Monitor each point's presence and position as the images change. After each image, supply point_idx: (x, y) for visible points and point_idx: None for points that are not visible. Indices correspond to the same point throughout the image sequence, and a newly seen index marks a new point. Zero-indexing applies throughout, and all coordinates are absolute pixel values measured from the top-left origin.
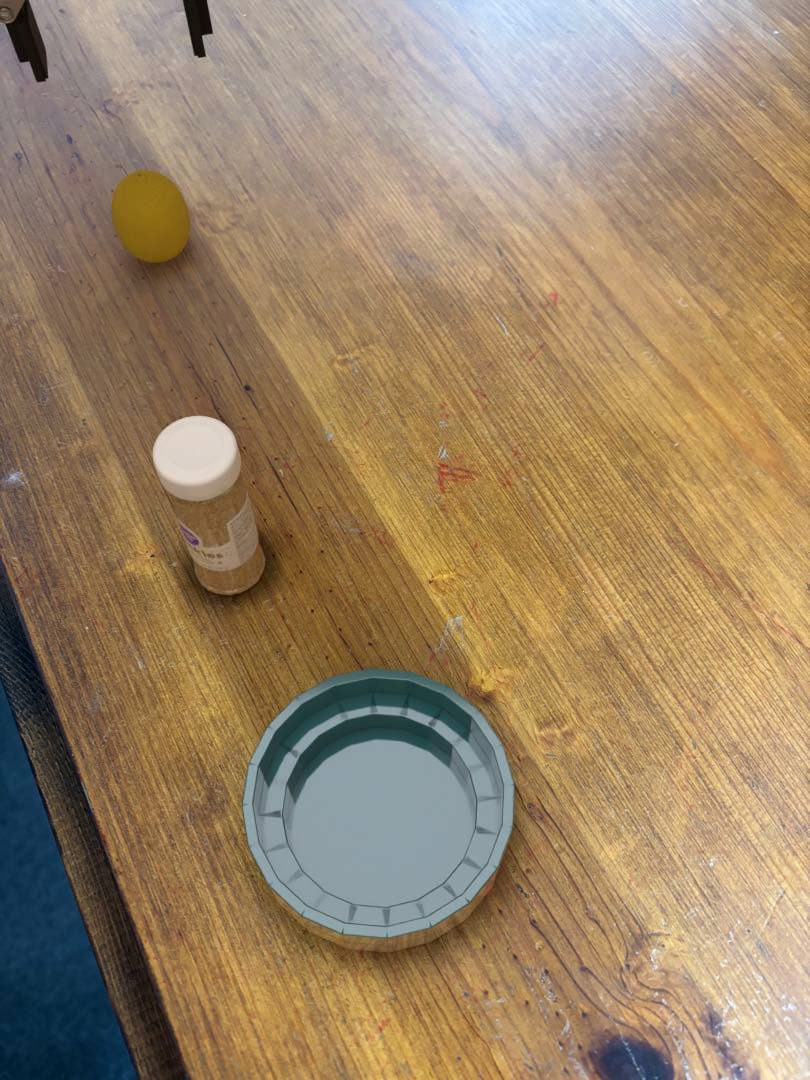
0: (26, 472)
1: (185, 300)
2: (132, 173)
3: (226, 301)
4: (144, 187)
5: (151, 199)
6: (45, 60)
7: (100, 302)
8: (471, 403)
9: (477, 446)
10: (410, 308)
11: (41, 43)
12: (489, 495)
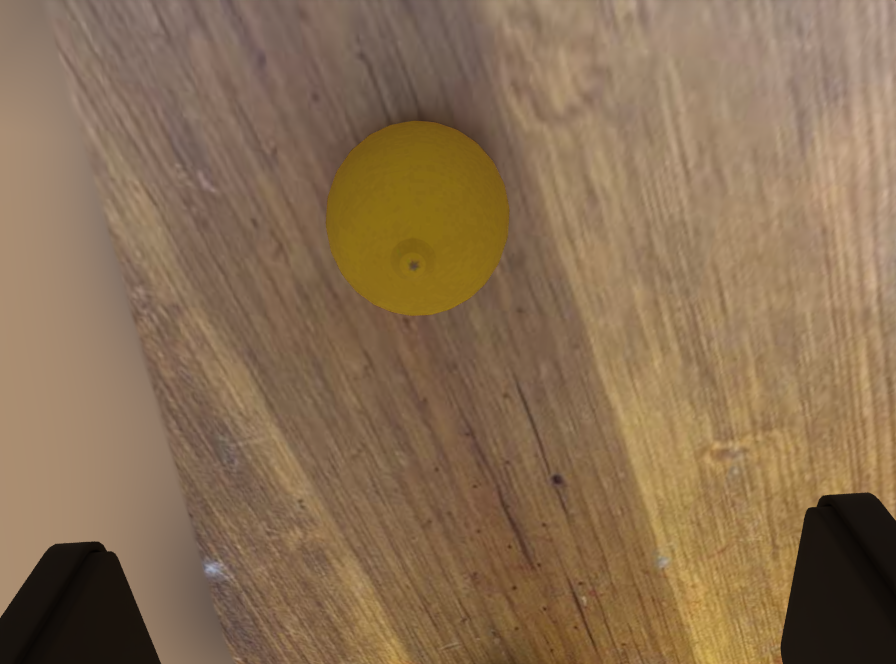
0: (227, 564)
1: None
2: (389, 220)
3: (544, 309)
4: (424, 286)
5: (438, 303)
6: (133, 647)
7: (300, 280)
8: None
9: None
10: (874, 367)
11: (96, 660)
12: None
